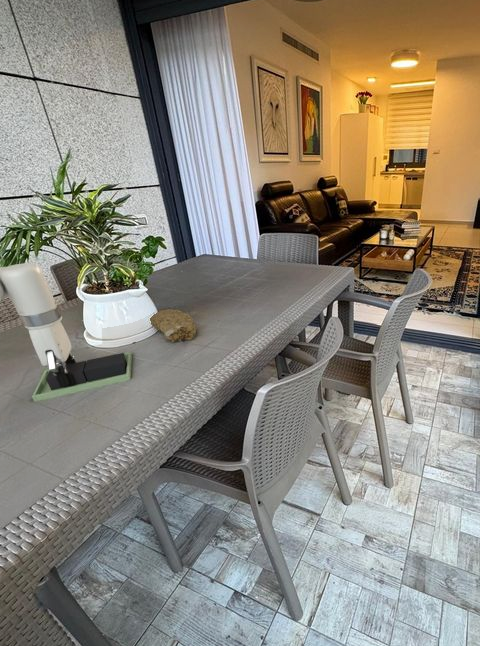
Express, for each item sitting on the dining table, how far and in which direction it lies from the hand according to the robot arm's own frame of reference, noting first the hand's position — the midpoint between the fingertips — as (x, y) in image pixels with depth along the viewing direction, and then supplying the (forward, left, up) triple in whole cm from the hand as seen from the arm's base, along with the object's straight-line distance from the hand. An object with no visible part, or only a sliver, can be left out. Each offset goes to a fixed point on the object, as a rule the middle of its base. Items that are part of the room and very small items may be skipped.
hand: (70, 378), depth 92 cm
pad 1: (0, 0, -1) cm, 1 cm away
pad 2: (+9, 0, -1) cm, 9 cm away
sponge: (+27, +19, -1) cm, 33 cm away
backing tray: (+4, 0, -1) cm, 4 cm away
